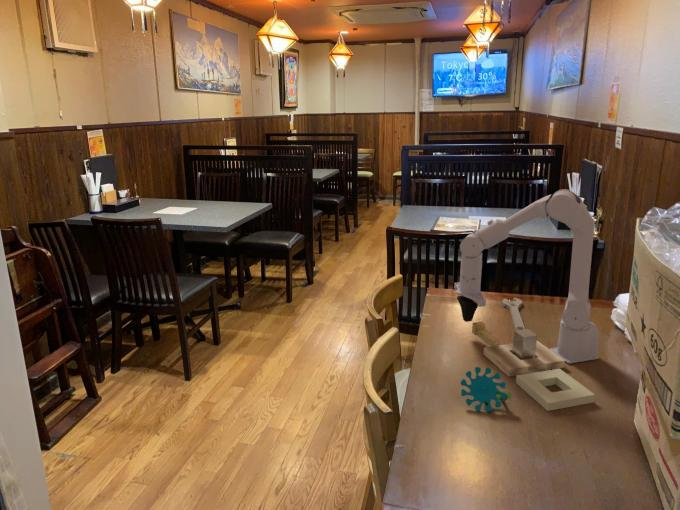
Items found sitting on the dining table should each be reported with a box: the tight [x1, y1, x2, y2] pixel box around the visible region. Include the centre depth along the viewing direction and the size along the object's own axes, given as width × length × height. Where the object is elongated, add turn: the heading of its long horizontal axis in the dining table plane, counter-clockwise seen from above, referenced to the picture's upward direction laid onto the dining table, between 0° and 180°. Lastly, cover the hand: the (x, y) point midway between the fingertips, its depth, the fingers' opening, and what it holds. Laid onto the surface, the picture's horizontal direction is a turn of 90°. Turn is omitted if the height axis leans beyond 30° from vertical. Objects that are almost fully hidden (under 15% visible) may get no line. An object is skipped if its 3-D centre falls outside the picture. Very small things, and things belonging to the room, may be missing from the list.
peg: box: [512, 328, 538, 360], centre depth 130 cm, size 4×4×8 cm
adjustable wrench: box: [501, 297, 526, 331], centre depth 159 cm, size 25×6×2 cm, turn 164°
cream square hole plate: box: [515, 368, 596, 412], centre depth 117 cm, size 12×12×2 cm
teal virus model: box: [460, 366, 513, 413], centre depth 114 cm, size 11×6×10 cm
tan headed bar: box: [471, 321, 500, 348], centre depth 136 cm, size 3×10×3 cm, turn 15°
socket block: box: [483, 340, 566, 377], centre depth 131 cm, size 16×12×2 cm
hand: (467, 320), depth 145 cm, fingers closed
